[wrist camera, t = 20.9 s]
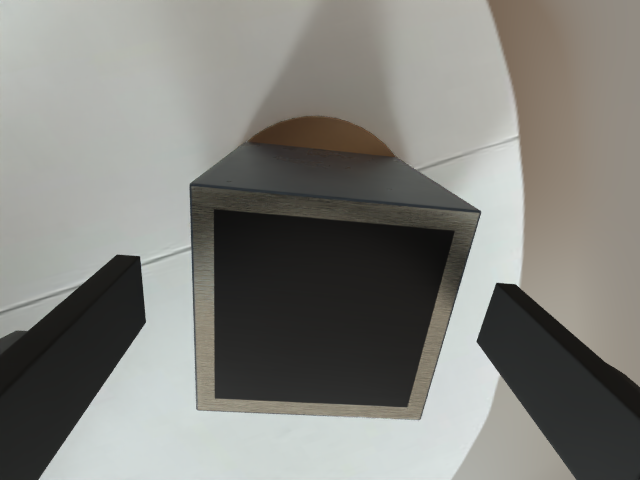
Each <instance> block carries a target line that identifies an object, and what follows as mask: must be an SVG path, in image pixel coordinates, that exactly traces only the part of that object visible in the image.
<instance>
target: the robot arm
mask: <svg viewBox="0 0 640 480" xmlns="http://www.w3.org/2000/svg"><path fill="white" fill-rule="evenodd" d="M145 323H146V318H145V307H144V296H143V284H142V273H141V262H140V256H129V255H116V256H115V257H114V258H113V259H111V260H110V261H109V262H108V263H107V264H106V265H104V266H103V267H102V268H101V269H100V270H99V271H97V272H96V273H95V274H94V275H93V276H92V277H90V278H89V279H88V280H87V281H86V282H85V283H83V284H82V285H81V286H80V287H79V288H78V289H76V290H75V291H74V292H73V293H72V294H71V295H69V296H68V297H67V298H66V299H65V300H64V301H62V302H61V303H60V304H59V305H58V306H57V307H55V308H54V309H53V310H52V311H51V312H50V313H48V314H47V315H46V316H45V317H44V318H43V319H42V320H40V321H39V322H38V323H37V324H36V325H35V326H33V327H32V328H31V329H30V330H29V331H15V332H13V333H11V334H9V335H7V336H5V337H3V338H1V339H0V480H38V479H39V478H40V476H41V475H42V473H43V472H44V470H45V469H46V467H47V466H48V465H49V463H50V462H51V460H52V459H53V457H54V456H55V454H56V453H57V451H58V450H59V448H60V447H61V446H62V444H63V443H64V441H65V440H66V438H67V437H68V435H69V434H70V432H71V431H72V430H73V428H74V427H75V425H76V424H77V422H78V421H79V419H80V418H81V416H82V415H83V413H84V412H85V411H86V409H87V408H88V406H89V405H90V403H91V402H92V400H93V399H94V397H95V396H96V394H97V393H98V392H99V390H100V389H101V387H102V386H103V384H104V383H105V381H106V380H107V378H108V377H109V376H110V374H111V373H112V371H113V370H114V368H115V367H116V365H117V364H118V362H119V361H120V359H121V358H122V357H123V355H124V354H125V352H126V351H127V349H128V348H129V346H130V345H131V343H132V342H133V340H134V339H135V338H136V336H137V335H138V333H139V332H140V330H141V329H142V327H143V326H144V324H145ZM477 343H478V344H479V346H480V347H481V349H482V350H483V351H484V353H485V354H486V355H487V357H488V358H489V360H490V361H491V362H492V364H493V365H494V366H495V368H496V369H497V371H498V372H499V373H500V375H501V376H502V377H503V379H504V380H505V382H506V383H507V384H508V386H509V387H510V389H511V390H512V391H513V393H514V394H515V395H516V397H517V398H518V400H519V401H520V402H521V404H522V405H523V406H524V408H525V409H526V411H527V412H528V413H529V415H530V416H531V417H532V419H533V420H534V422H535V423H536V424H537V426H538V427H539V429H540V430H541V431H542V433H543V434H544V435H545V437H546V438H547V440H548V441H549V442H550V444H551V445H552V446H553V448H554V449H555V451H556V452H557V453H558V455H559V456H560V458H561V459H562V460H563V462H564V463H565V464H566V466H567V467H568V469H569V470H570V471H571V473H572V474H573V475H574V477H575V478H576V480H640V387H639V386H638V385H636V384H635V383H634V382H633V381H632V380H630V378H628V377H627V376H626V375H625V374H623V373H622V372H620V371H618V370H617V369H615V368H614V367H612V366H610V365H609V364H607V363H605V362H604V361H603V360H602V359H601V358H599V357H598V356H597V355H596V354H595V353H594V352H593V351H592V350H590V349H589V348H588V347H587V346H586V345H585V344H583V343H582V342H581V341H580V340H579V339H578V338H577V337H575V336H574V335H573V334H572V333H571V332H570V331H568V330H567V329H566V328H565V327H564V326H563V325H562V324H560V323H559V322H558V321H557V320H556V319H554V318H553V317H552V316H551V315H550V314H549V313H548V312H547V311H545V310H544V309H543V308H542V307H541V306H539V305H538V304H537V303H536V302H535V301H534V300H533V299H532V298H530V297H529V296H528V295H527V294H526V293H525V292H523V291H522V290H521V289H520V288H519V287H518V286H517V285H515V284H504V283H496V286H495V289H494V291H493V294H492V297H491V300H490V303H489V306H488V309H487V312H486V315H485V318H484V321H483V324H482V327H481V330H480V333H479V336H478V339H477Z"/></svg>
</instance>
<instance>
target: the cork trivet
mask: <svg viewBox="0 0 640 480" xmlns="http://www.w3.org/2000/svg"><path fill="white" fill-rule="evenodd" d="M248 142H257V143H266V144H276V145H285V146H295V147H304V148H314V149H323V150H333V151H342V152H352V153H361V154H370V155H380V156H389V157H395V155H394V154H393V153H392V152H391V150H390V149H389V148H388V147H387V146H386V145H385V144H384V143H383V142H382V141H380V140H379V139H378V138H377V137H376V136H374V135H373V134H371V133H370V132H368V131H366V130H365V129H363V128H361V127H359V126H357V125H355V124H352V123H350V122H348V121H344V120H341V119H337V118H332V117H325V116H304V117H297V118H292V119H288V120H285V121H281V122H279V123H276V124H274V125H272V126H270V127H267V128H266V129H264V130H262V131H261V132H259V133H258V134H256V135H255V136H253V137H252V138H251V139H250V140H249V141H248Z"/></svg>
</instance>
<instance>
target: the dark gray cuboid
mask: <svg viewBox="0 0 640 480" xmlns="http://www.w3.org/2000/svg"><path fill="white" fill-rule="evenodd" d="M480 215H481V211H480V210H478V209H477V208H475V207H474V206H472V205H470V204H469V203H467V202H466V201H464V200H463V199H461V198H459V197H458V196H456V195H455V194H453V193H452V192H450V191H449V190H447V189H445V188H444V187H442V186H441V185H439V184H438V183H436V182H434V181H433V180H431V179H430V178H428V177H427V176H425V175H423V174H422V173H420V172H419V171H417V170H416V169H414V168H412V167H411V166H409V165H408V164H406V163H405V162H403V161H401V160H400V159H398V158H397V157H389V156H380V155H370V154H361V153H352V152H342V151H333V150H323V149H314V148H304V147H295V146H285V145H276V144H266V143H257V142H248V141H246V142H245V143H243V144H242V145H241V146H239V147H238V148H237V149H235V150H234V151H233V152H231V153H230V154H229V155H227V156H226V157H225V158H223V159H222V160H221V161H219V162H218V163H217V164H215V165H214V166H213V167H211V168H210V169H209V170H207V171H206V172H205V173H203V174H202V175H201V176H199V177H198V178H197V179H195V180H194V181H193V182H191V183H190V216H191V249H192V282H193V315H194V347H195V380H196V409H197V410H200V411H222V412H245V413H268V414H291V415H313V416H336V417H359V418H382V419H405V420H420V419H421V416H422V413H423V409H424V406H425V402H426V399H427V396H428V392H429V389H430V385H431V382H432V379H433V375H434V372H435V368H436V365H437V362H438V358H439V355H440V351H441V348H442V344H443V341H444V338H445V334H446V331H447V327H448V324H449V321H450V317H451V314H452V310H453V307H454V303H455V300H456V297H457V293H458V290H459V286H460V283H461V280H462V276H463V273H464V269H465V266H466V262H467V259H468V256H469V252H470V249H471V245H472V242H473V239H474V235H475V232H476V228H477V225H478V221H479V218H480Z"/></svg>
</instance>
